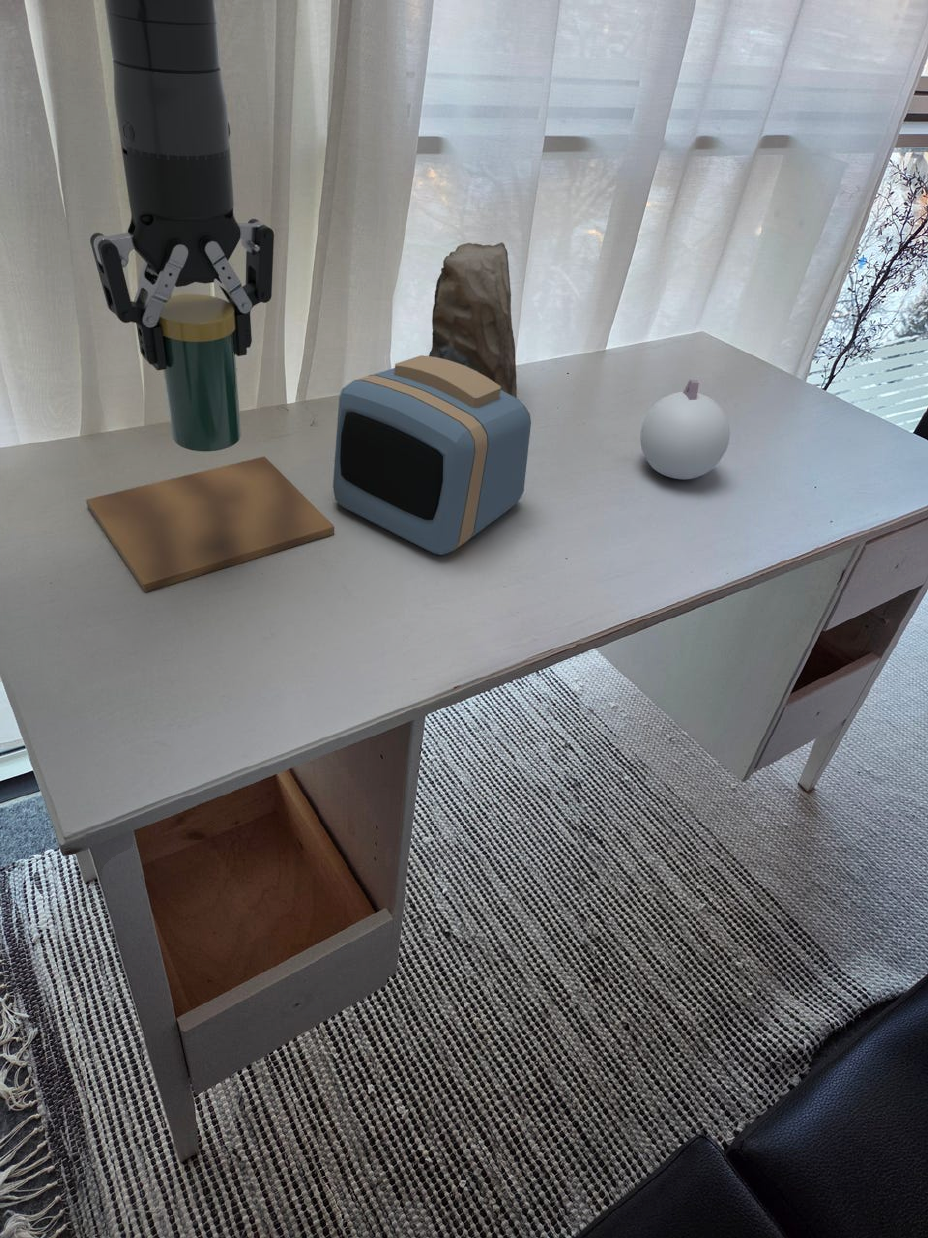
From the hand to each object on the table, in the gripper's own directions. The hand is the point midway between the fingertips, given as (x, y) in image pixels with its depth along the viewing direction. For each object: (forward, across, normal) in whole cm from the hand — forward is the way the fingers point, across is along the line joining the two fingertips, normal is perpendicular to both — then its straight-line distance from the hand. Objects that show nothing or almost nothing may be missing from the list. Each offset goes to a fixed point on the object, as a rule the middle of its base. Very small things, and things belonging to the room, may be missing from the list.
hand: (198, 358), depth 71 cm
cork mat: (+20, -1, -5) cm, 20 cm away
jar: (+7, 0, 0) cm, 7 cm away
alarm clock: (+20, -23, +3) cm, 31 cm away
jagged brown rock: (+20, -41, -13) cm, 48 cm away
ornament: (+20, -55, +11) cm, 60 cm away
